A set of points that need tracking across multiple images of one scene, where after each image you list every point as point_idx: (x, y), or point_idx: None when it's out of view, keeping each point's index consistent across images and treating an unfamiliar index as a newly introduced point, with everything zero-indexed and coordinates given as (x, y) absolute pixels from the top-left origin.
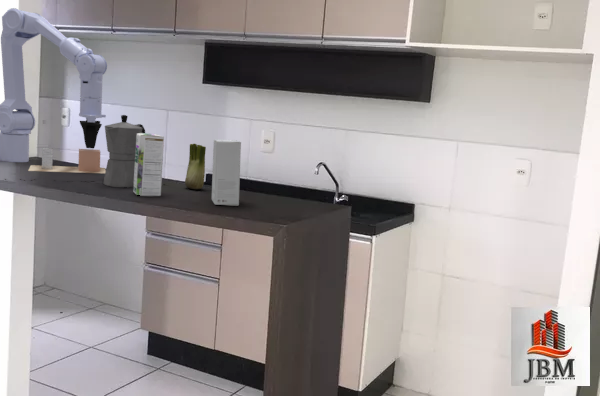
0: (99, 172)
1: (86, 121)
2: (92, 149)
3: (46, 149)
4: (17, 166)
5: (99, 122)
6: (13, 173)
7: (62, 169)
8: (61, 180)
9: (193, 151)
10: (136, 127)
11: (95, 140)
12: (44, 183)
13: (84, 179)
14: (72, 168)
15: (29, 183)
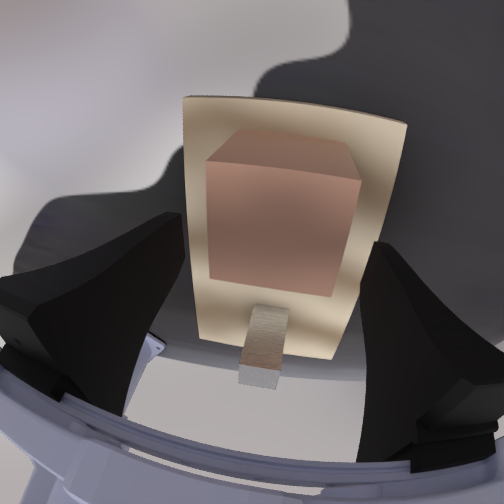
0: (376, 151)
1: (98, 403)
2: (210, 207)
3: (277, 381)
4: (168, 343)
5: (38, 315)
6: (310, 369)
7: None
8: (455, 295)
9: None
10: None
11: (418, 279)
12: (481, 329)
13: (454, 228)
14: None
15: None
